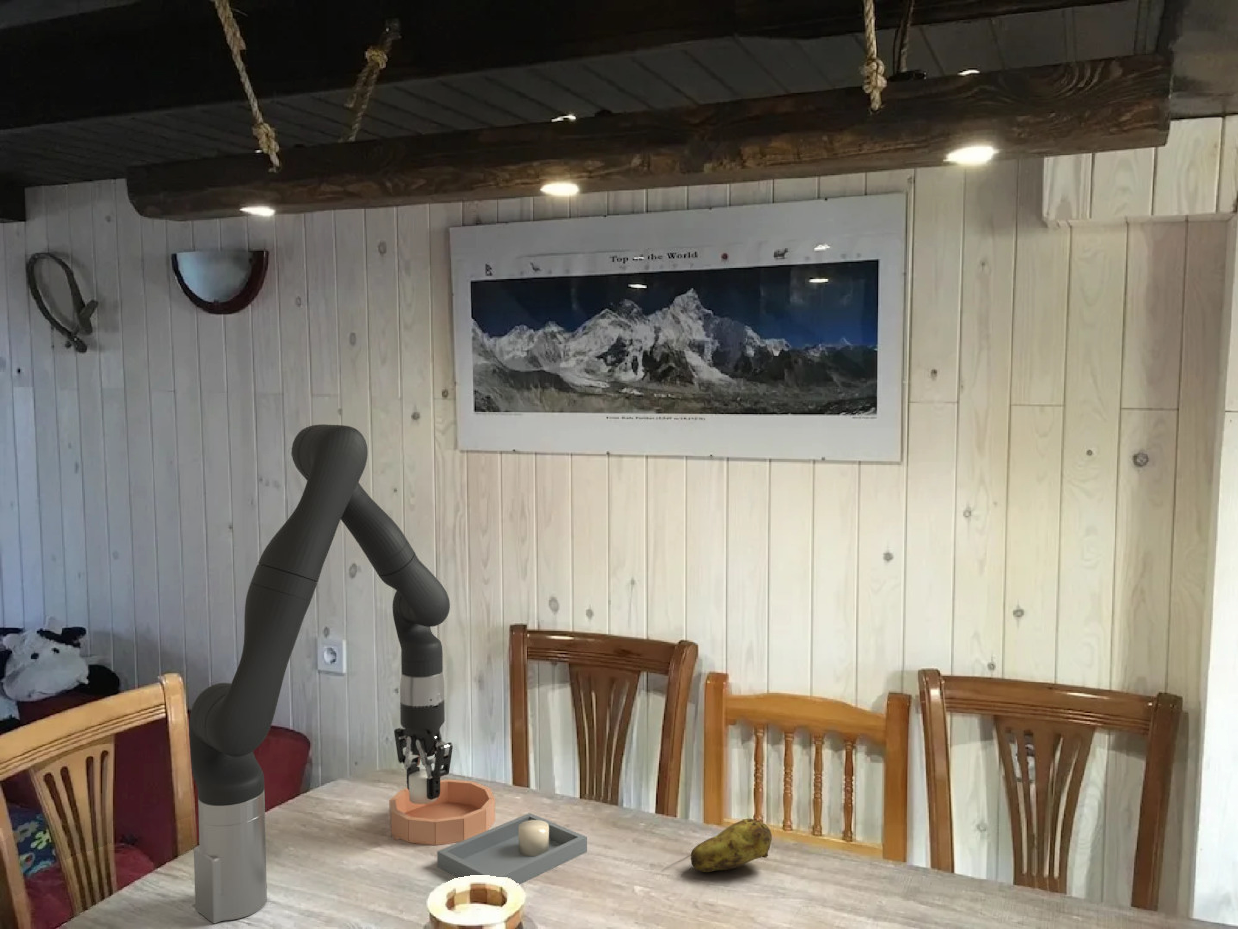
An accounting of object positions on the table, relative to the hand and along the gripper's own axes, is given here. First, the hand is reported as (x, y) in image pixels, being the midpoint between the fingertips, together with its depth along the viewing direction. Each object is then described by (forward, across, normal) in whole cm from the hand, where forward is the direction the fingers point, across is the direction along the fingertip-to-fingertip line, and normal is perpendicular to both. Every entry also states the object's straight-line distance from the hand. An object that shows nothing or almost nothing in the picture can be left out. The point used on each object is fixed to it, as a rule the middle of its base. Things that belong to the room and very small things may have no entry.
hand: (423, 793), depth 173 cm
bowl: (+7, 0, +4) cm, 8 cm away
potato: (+8, +47, +26) cm, 54 cm away
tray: (+7, +20, +3) cm, 22 cm away
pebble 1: (+1, 0, 0) cm, 1 cm away
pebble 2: (+6, +20, +8) cm, 22 cm away
